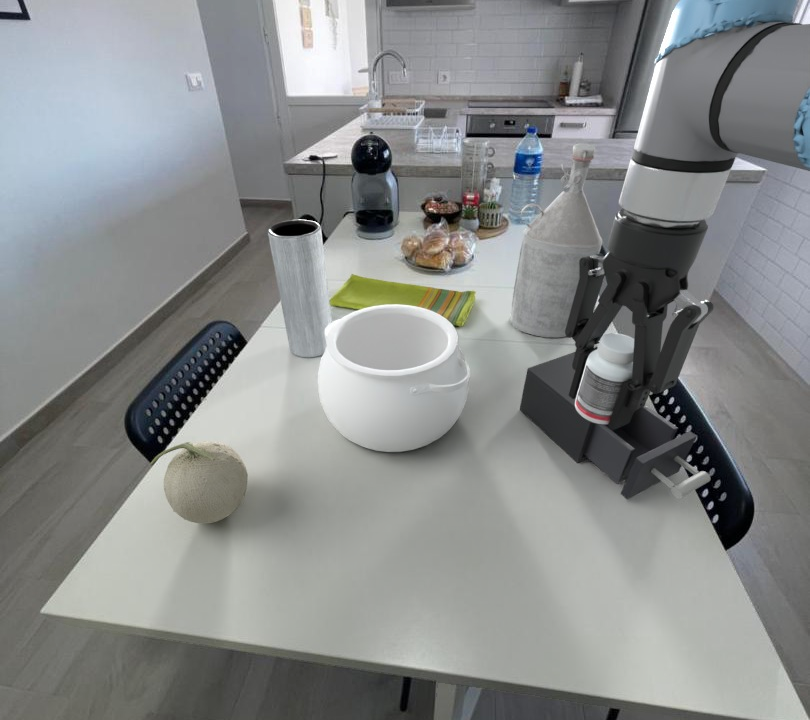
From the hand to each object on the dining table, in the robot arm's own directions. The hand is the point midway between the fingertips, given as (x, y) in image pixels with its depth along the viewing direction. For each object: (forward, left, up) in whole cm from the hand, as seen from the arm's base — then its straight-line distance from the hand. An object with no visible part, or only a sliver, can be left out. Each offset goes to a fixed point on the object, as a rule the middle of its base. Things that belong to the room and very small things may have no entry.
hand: (598, 408), depth 53 cm
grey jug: (+42, -33, -20) cm, 57 cm away
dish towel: (+67, -8, -20) cm, 71 cm away
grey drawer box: (+13, -15, -20) cm, 28 cm away
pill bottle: (0, 0, -1) cm, 1 cm away
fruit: (+24, +45, -20) cm, 55 cm away
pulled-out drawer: (+1, -15, -19) cm, 24 cm away
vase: (+59, +19, -20) cm, 66 cm away
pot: (+31, +12, -20) cm, 39 cm away
